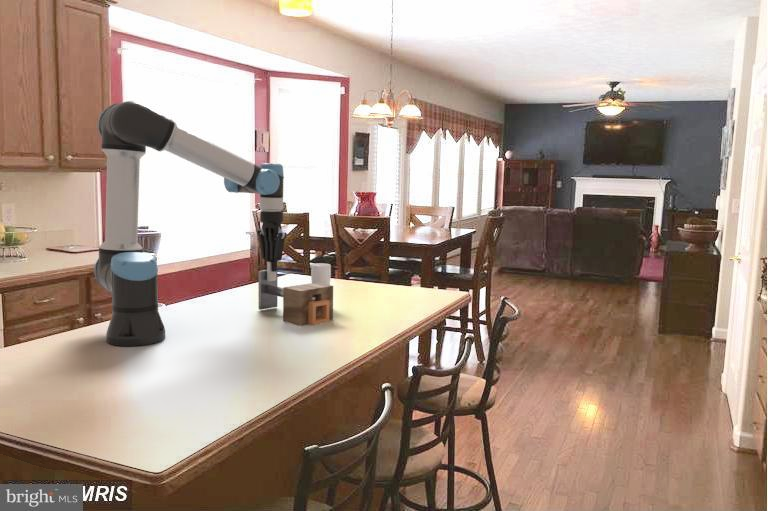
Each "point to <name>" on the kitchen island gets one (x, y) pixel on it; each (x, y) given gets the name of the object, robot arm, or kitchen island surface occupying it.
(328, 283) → the drinking glass
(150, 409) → the kitchen island surface
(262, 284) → the shaft
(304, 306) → the bearing block
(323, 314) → the orange square frame
